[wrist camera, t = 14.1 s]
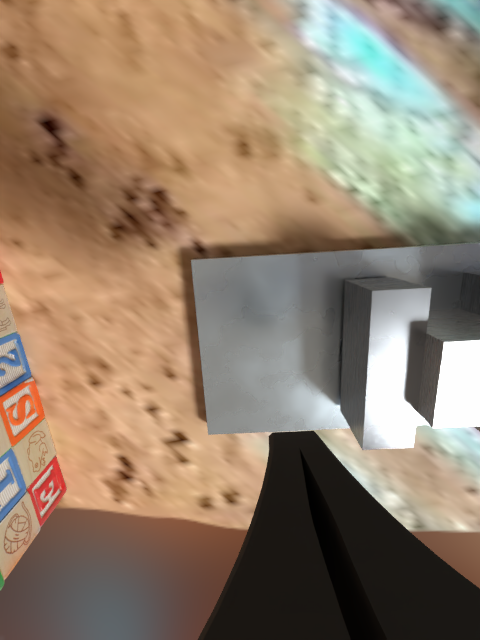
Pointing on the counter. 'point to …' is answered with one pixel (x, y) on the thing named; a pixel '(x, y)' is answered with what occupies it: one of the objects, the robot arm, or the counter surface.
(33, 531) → the stack of blocks
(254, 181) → the counter surface
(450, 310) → the aluminium block
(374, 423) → the block
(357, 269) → the base
